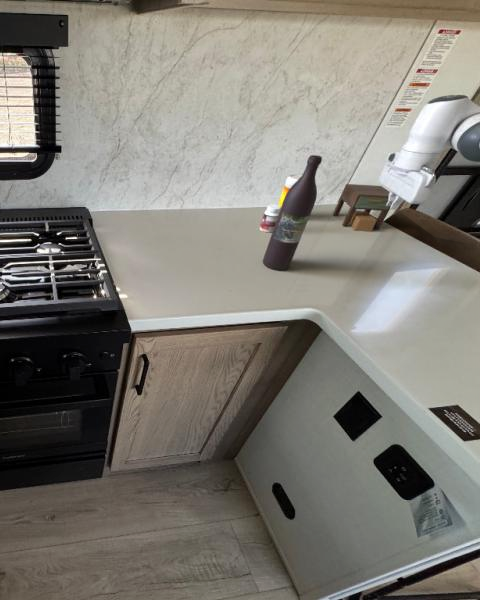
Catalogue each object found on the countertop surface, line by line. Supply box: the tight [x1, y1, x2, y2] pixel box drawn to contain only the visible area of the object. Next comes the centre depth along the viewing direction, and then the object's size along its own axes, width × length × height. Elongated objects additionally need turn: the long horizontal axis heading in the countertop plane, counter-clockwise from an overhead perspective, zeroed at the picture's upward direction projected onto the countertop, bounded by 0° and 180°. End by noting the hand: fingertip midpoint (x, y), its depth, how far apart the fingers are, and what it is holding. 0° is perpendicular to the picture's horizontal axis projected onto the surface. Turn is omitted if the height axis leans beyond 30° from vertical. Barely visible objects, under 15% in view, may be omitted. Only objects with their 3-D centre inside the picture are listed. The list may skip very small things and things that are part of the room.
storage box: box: [349, 210, 377, 233], centre depth 120 cm, size 8×5×4 cm, turn 167°
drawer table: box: [332, 183, 391, 230], centre depth 121 cm, size 12×11×12 cm
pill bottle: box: [259, 203, 281, 233], centre depth 117 cm, size 5×5×8 cm
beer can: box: [277, 174, 303, 207], centre depth 123 cm, size 6×6×15 cm
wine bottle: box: [262, 154, 323, 271], centre depth 91 cm, size 7×7×30 cm
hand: (391, 208), depth 106 cm, fingers closed
